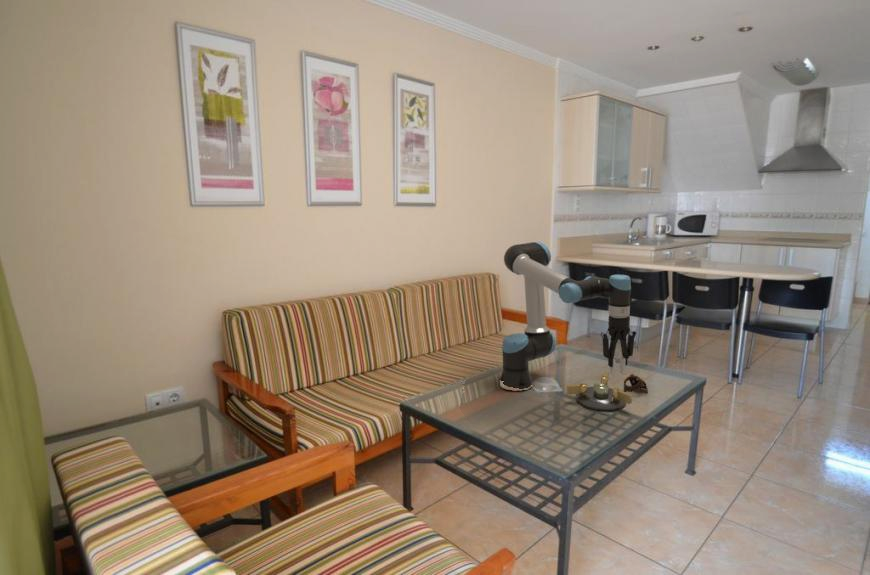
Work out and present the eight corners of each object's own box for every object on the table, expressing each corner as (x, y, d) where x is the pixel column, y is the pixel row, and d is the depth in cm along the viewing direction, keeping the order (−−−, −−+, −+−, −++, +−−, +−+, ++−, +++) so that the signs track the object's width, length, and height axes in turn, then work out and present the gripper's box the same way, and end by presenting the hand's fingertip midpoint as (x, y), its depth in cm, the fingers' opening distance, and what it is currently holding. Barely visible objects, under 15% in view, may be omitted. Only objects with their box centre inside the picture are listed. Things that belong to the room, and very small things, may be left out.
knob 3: (610, 400, 194) (611, 389, 193) (615, 399, 195) (615, 387, 194) (628, 408, 187) (628, 396, 186) (632, 406, 188) (633, 394, 187)
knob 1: (585, 394, 201) (585, 383, 200) (587, 397, 198) (587, 386, 197) (566, 395, 201) (566, 384, 200) (568, 398, 198) (568, 387, 197)
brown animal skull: (652, 396, 202) (646, 383, 199) (631, 405, 205) (624, 391, 202) (643, 379, 213) (636, 366, 210) (622, 387, 215) (616, 374, 212)
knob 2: (606, 390, 204) (607, 379, 203) (600, 389, 205) (600, 378, 204) (609, 382, 211) (610, 372, 210) (603, 382, 212) (603, 371, 211)
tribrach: (571, 406, 196) (571, 389, 195) (581, 387, 213) (581, 372, 212) (622, 415, 187) (623, 397, 185) (629, 395, 204) (629, 379, 202)
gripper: (602, 319, 176) (601, 379, 181) (644, 316, 178) (642, 375, 182) (594, 314, 183) (593, 372, 188) (634, 311, 185) (632, 368, 190)
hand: (617, 373), depth 185 cm, fingers open, 3 cm apart
